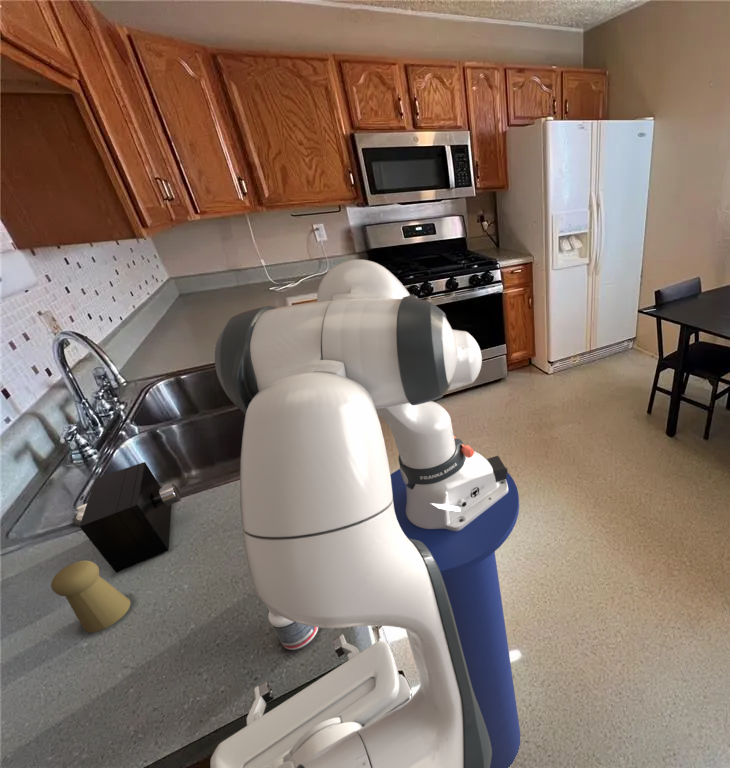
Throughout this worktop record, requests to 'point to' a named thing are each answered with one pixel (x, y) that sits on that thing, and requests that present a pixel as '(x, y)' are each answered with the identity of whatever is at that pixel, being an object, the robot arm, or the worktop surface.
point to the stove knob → (79, 515)
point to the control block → (127, 517)
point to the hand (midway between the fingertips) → (302, 662)
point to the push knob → (167, 495)
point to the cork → (90, 596)
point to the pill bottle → (291, 631)
